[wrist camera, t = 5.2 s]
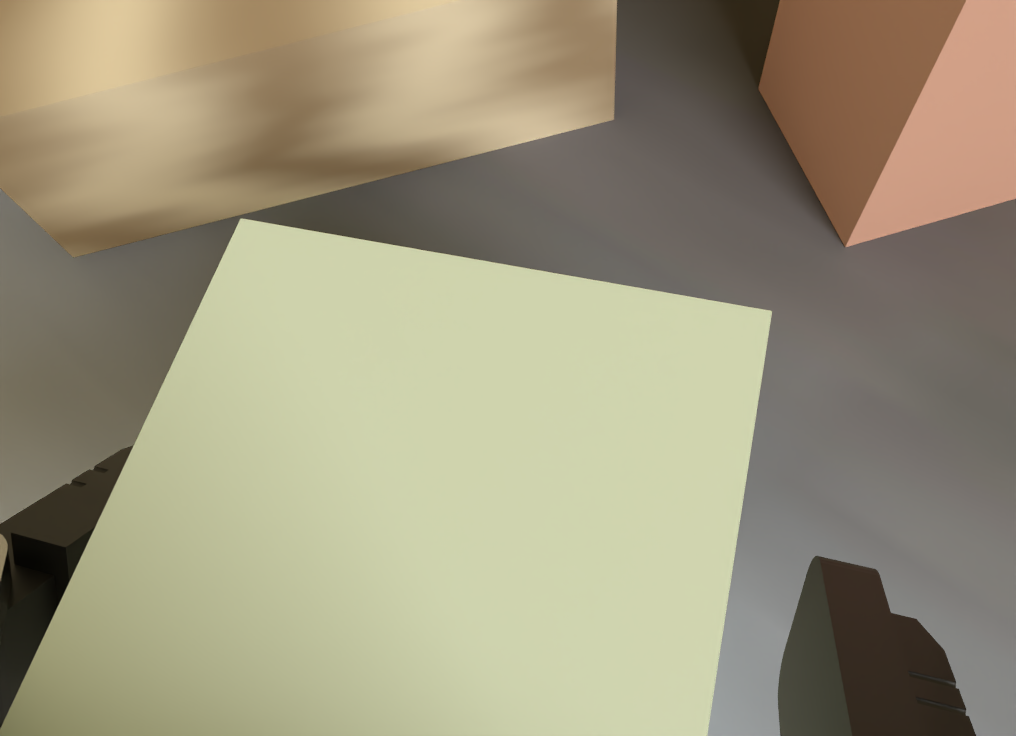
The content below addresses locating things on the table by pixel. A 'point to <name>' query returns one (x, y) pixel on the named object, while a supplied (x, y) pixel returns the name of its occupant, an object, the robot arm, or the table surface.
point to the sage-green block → (414, 508)
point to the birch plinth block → (273, 100)
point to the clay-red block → (896, 107)
